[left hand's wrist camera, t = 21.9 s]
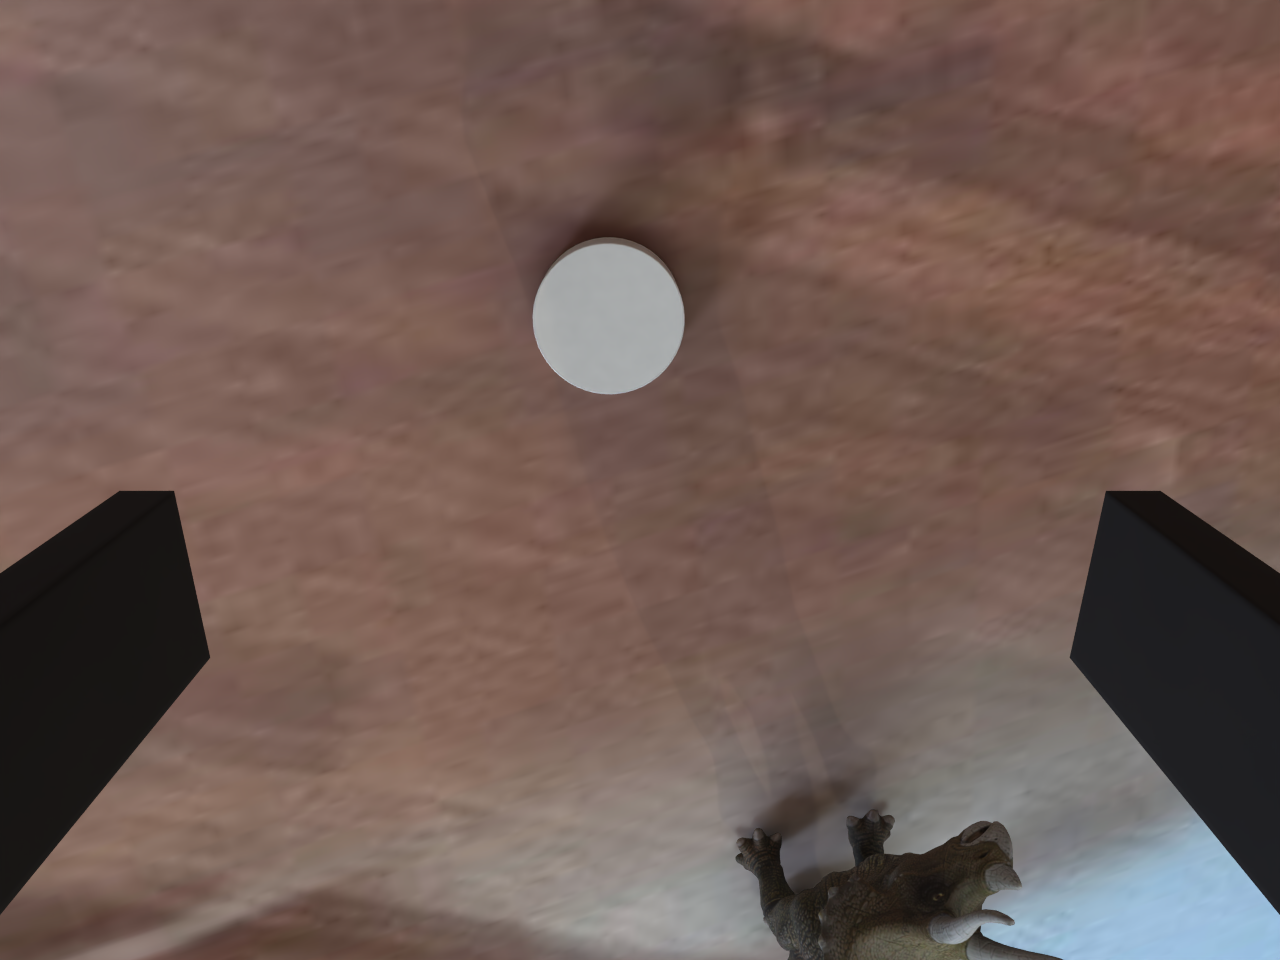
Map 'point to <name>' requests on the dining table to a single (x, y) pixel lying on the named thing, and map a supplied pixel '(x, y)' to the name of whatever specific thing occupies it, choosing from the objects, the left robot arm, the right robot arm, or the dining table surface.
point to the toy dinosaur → (892, 897)
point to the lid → (608, 316)
